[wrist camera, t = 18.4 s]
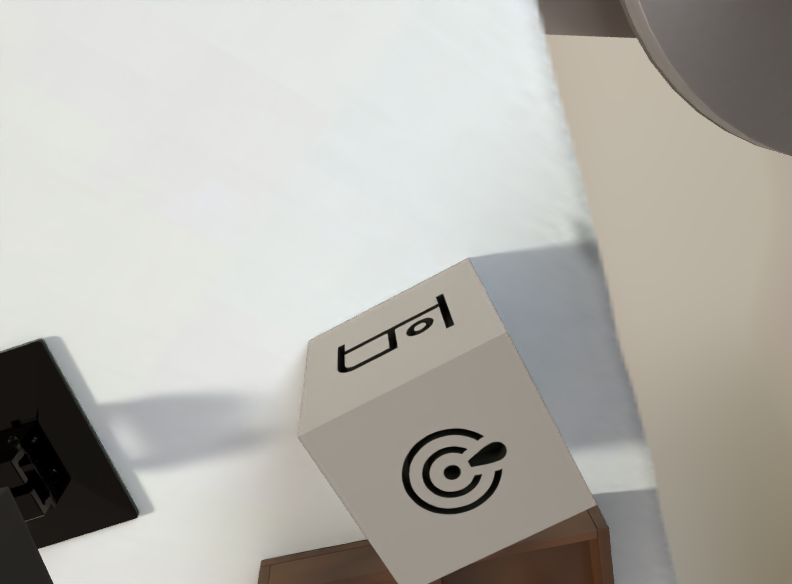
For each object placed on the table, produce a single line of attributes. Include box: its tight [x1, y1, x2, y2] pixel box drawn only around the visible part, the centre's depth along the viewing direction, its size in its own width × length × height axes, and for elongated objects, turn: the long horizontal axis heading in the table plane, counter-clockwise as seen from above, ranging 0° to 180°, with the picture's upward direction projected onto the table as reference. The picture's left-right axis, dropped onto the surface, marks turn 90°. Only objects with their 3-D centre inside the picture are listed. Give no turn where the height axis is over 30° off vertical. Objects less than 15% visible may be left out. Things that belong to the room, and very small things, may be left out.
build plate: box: [0, 339, 139, 549], centre depth 39 cm, size 12×7×5 cm, turn 18°
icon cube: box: [298, 258, 597, 584], centre depth 36 cm, size 10×10×10 cm
